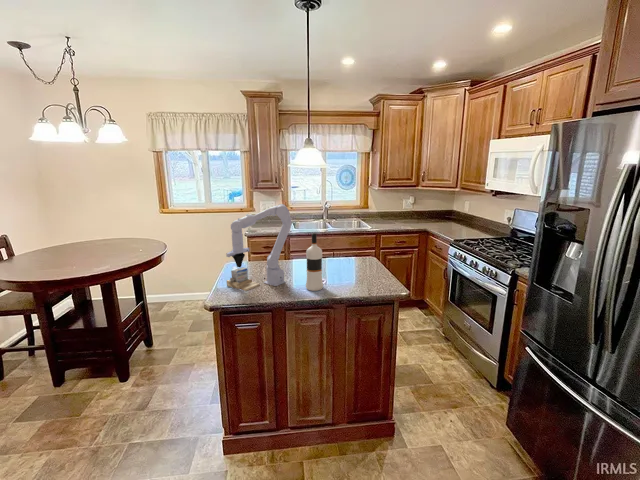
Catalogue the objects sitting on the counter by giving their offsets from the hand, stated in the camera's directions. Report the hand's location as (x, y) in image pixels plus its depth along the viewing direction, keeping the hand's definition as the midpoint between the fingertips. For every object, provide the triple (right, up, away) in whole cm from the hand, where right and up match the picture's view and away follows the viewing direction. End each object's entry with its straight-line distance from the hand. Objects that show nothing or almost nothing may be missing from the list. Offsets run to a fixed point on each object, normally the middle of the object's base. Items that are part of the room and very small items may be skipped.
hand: (239, 266), depth 176 cm
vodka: (+41, -11, -4) cm, 43 cm away
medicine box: (0, -10, +2) cm, 10 cm away
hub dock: (+2, -10, 0) cm, 10 cm away
